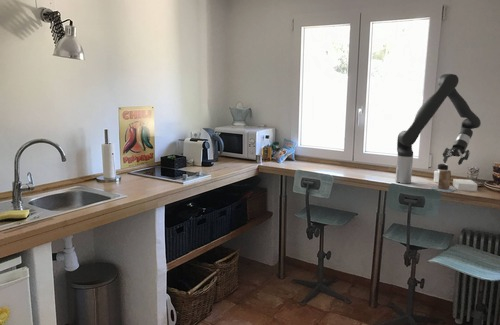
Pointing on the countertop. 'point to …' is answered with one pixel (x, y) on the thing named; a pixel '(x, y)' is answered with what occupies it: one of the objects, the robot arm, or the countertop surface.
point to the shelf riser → (464, 185)
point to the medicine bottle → (436, 173)
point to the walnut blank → (444, 179)
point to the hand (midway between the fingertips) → (451, 163)
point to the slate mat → (445, 190)
